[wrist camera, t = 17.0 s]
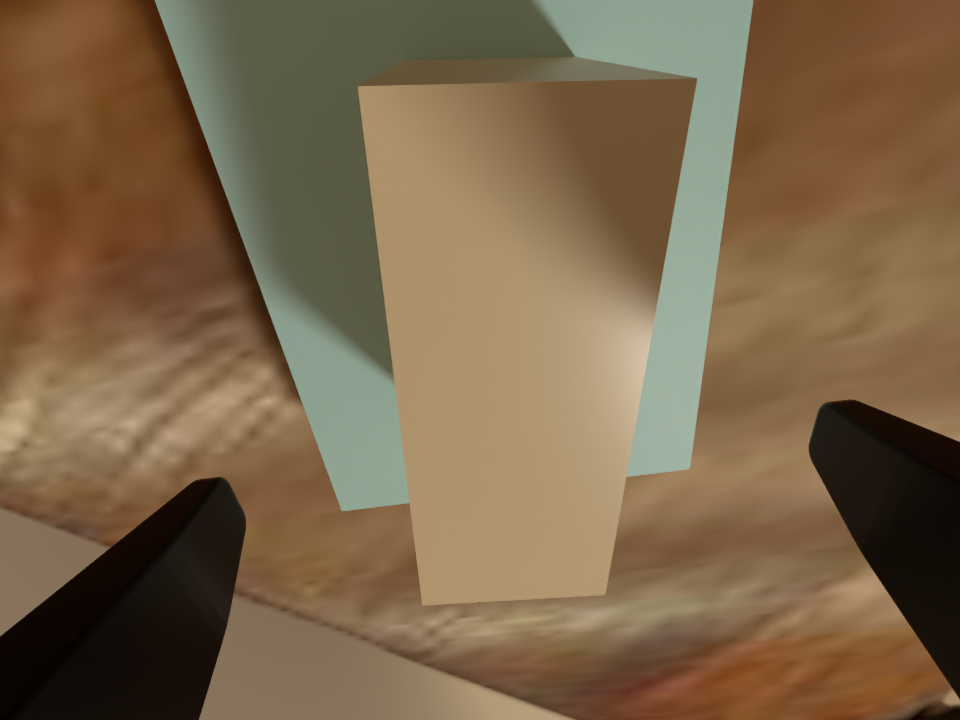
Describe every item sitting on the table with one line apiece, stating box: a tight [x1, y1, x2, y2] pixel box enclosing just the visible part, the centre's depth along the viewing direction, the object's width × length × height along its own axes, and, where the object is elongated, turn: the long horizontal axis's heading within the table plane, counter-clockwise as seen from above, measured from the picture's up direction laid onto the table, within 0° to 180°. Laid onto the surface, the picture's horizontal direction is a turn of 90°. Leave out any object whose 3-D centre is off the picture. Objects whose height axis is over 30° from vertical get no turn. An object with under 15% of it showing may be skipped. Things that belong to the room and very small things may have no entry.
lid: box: [155, 0, 753, 511], centre depth 16 cm, size 13×19×3 cm
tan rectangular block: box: [358, 57, 697, 606], centre depth 12 cm, size 4×10×7 cm, turn 1°
